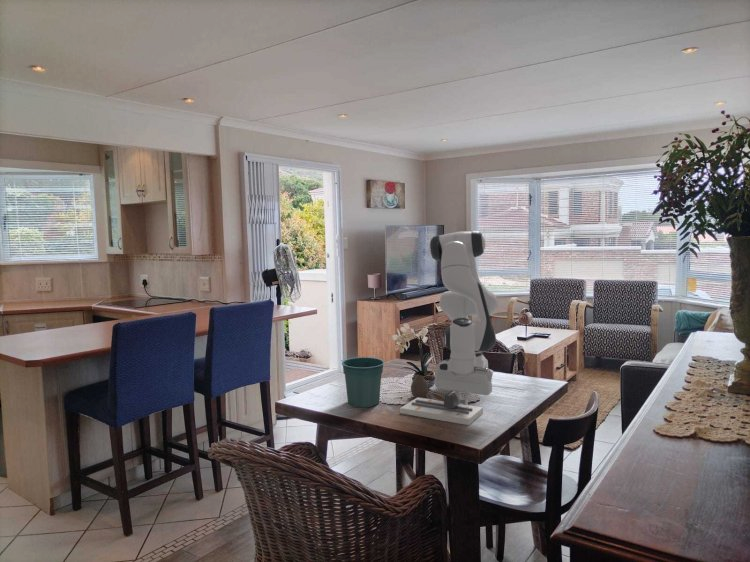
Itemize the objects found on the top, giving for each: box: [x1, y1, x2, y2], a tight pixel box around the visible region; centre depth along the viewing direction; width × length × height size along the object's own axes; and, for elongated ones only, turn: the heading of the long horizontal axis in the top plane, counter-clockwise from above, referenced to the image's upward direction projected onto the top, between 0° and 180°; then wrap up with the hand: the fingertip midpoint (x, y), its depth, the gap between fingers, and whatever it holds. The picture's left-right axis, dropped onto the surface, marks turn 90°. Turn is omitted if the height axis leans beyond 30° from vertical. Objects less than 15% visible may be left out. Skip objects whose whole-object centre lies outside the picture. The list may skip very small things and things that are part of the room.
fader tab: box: [443, 390, 459, 409], centre depth 191 cm, size 6×4×6 cm, turn 149°
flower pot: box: [341, 356, 385, 409], centre depth 206 cm, size 16×16×16 cm
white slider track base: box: [399, 397, 484, 426], centre depth 193 cm, size 14×26×3 cm, turn 59°
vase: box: [410, 374, 429, 399], centre depth 212 cm, size 7×7×9 cm
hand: (463, 403), depth 189 cm, fingers closed
